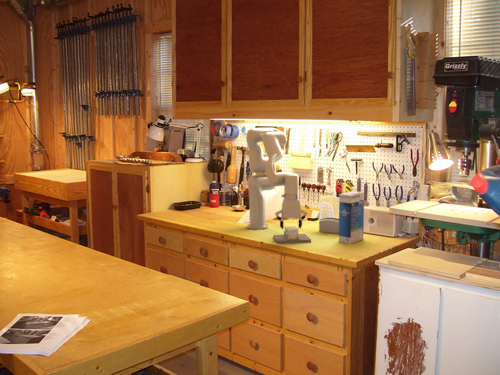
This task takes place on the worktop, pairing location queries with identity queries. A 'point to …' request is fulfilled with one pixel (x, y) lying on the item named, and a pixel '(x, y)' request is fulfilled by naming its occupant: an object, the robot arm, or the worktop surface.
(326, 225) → the grey rounded block
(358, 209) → the string lights box
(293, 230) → the block
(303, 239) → the gray peg board
